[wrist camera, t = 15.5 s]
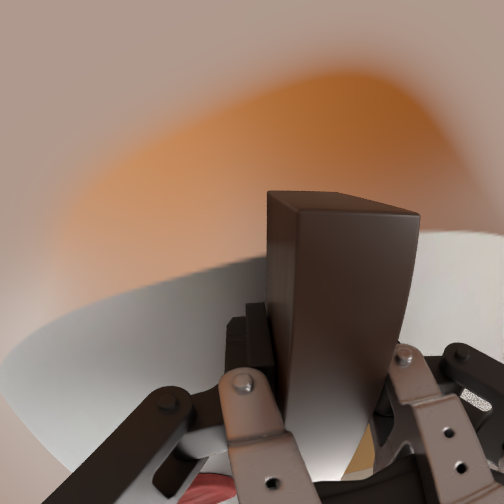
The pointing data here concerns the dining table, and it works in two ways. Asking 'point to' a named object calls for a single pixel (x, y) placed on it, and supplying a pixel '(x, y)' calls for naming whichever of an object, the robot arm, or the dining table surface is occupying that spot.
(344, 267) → the dark brown wooden block
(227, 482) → the popsicle
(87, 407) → the dining table surface
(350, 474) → the cake slice
